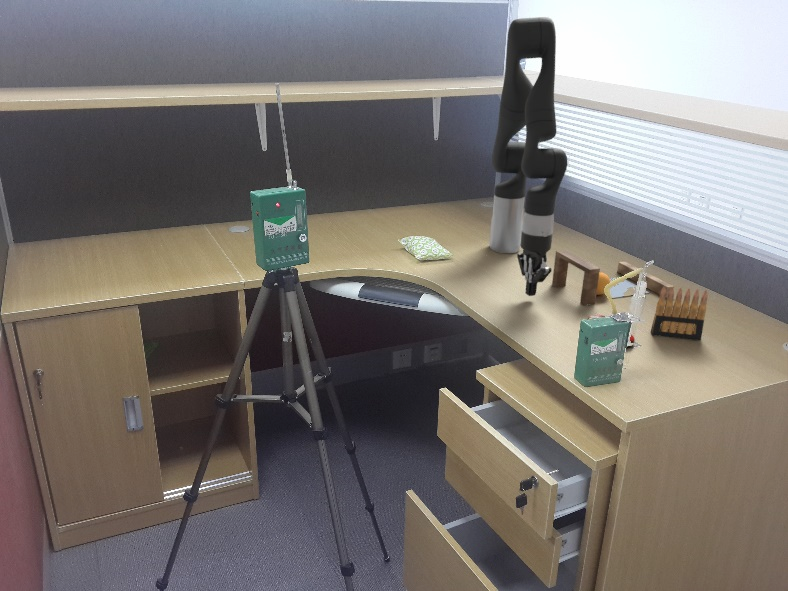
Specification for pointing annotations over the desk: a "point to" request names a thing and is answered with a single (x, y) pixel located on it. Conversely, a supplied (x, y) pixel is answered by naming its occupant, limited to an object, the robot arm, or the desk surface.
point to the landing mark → (621, 288)
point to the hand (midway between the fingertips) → (530, 294)
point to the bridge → (589, 269)
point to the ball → (602, 283)
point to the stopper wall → (652, 281)
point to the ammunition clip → (679, 316)
